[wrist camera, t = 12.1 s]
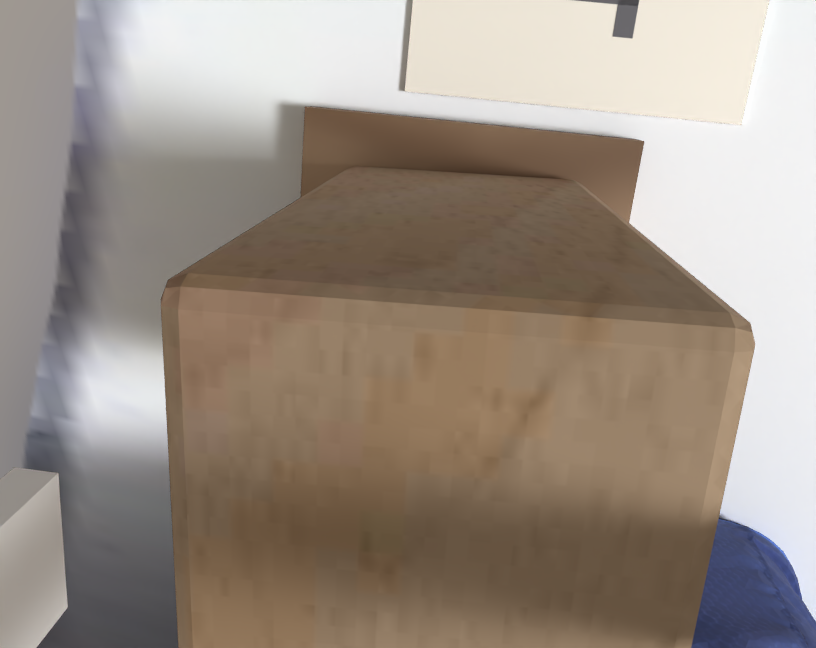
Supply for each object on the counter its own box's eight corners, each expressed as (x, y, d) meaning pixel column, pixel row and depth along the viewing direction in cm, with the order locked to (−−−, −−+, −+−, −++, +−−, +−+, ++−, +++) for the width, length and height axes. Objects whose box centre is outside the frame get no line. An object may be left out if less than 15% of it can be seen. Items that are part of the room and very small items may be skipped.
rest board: (310, 106, 32) (304, 107, 30) (637, 139, 31) (644, 141, 30) (295, 402, 36) (290, 413, 35) (582, 437, 35) (585, 449, 34)
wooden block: (339, 382, 34) (174, 749, 15) (345, 164, 31) (146, 277, 12) (555, 400, 33) (668, 806, 14) (583, 179, 30) (773, 324, 11)
